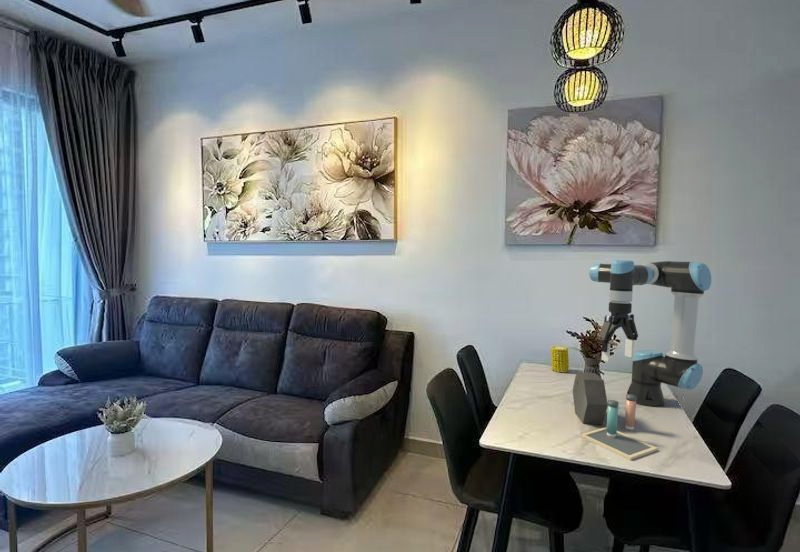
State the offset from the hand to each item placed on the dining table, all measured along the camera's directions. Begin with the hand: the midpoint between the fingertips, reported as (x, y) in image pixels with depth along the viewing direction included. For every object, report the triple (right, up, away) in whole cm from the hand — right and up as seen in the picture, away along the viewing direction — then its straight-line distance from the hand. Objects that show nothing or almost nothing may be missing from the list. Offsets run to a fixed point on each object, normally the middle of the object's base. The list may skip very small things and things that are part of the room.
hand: (617, 358), depth 158 cm
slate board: (-3, -29, -6) cm, 30 cm away
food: (+10, -24, +84) cm, 87 cm away
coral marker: (+8, -29, +7) cm, 30 cm away
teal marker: (-3, -28, -2) cm, 28 cm away
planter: (-4, -28, +16) cm, 32 cm away
